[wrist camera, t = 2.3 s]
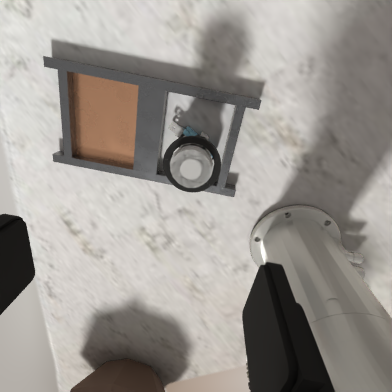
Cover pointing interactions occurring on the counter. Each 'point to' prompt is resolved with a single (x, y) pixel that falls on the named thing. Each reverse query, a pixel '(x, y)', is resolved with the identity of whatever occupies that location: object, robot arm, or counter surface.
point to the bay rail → (128, 120)
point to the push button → (191, 160)
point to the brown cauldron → (121, 378)
